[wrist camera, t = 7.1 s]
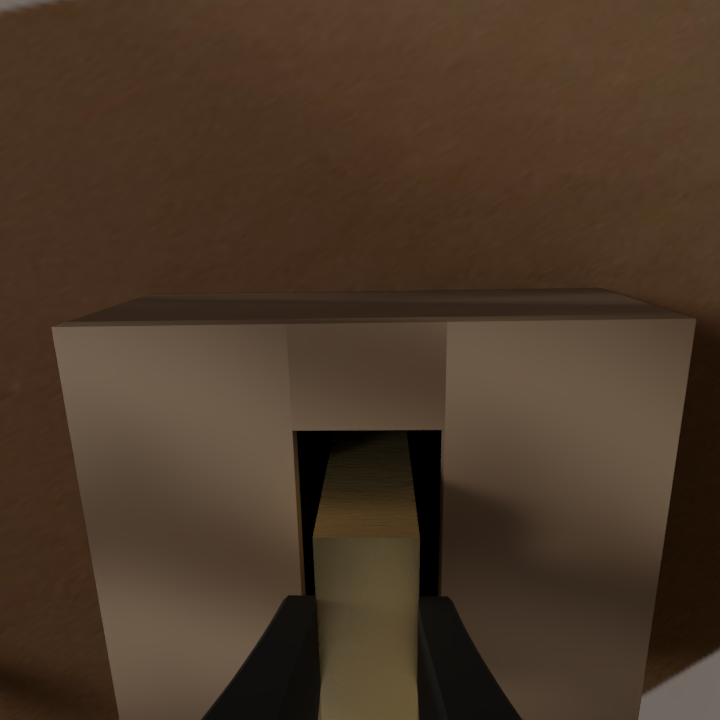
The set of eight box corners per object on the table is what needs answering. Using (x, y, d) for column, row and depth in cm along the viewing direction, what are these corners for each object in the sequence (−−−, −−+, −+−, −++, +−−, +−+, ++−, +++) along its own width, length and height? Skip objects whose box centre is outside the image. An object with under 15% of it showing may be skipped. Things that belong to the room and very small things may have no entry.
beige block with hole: (567, 618, 19) (632, 756, 14) (187, 615, 20) (124, 746, 15) (599, 288, 16) (696, 318, 11) (148, 294, 17) (51, 327, 12)
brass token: (405, 584, 16) (416, 744, 11) (339, 583, 16) (322, 742, 11) (406, 430, 15) (419, 538, 10) (334, 430, 15) (312, 537, 10)
